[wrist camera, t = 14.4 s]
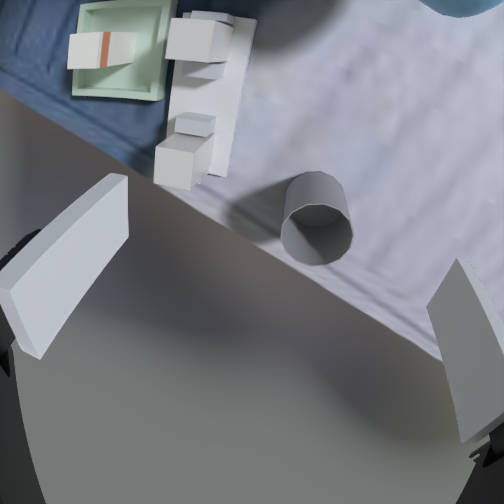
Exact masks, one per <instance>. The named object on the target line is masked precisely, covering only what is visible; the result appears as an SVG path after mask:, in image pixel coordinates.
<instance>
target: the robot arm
mask: <svg viewBox="0 0 504 504" xmlns="http://www.w3.org/2000/svg"><path fill="white" fill-rule="evenodd" d="M419 1H420V2H422V3H424V4H425V5H427V6H428V7H430V8H431V9H433V10H434V11H436V12H438V13H440V14H442V15H447V16H452V17H456V18H462V17H470V16H474V15H477V14H480V13H483V12H485V11H488V10H490V9H492V8H494V7H495V6H497V5H499V4H500V3H502V2H503V1H504V0H419ZM128 237H129V235H128V176H125V175H119V174H114V173H110V174H109V175H107V176H106V177H105V178H103V179H102V180H101V181H99V182H98V183H97V184H96V185H94V186H93V187H92V188H91V189H89V190H88V191H87V192H86V193H85V194H83V195H82V196H81V197H80V198H78V199H77V200H76V201H75V202H74V203H72V204H71V205H70V206H69V207H68V208H67V209H66V210H64V211H63V212H62V213H61V214H59V215H58V216H57V217H56V218H55V219H54V220H53V221H52V222H50V224H48V225H47V226H46V227H45V228H44V229H43V230H41V229H38V230H36V231H34V232H32V233H30V234H28V235H26V236H25V237H24V238H23V239H22V240H21V241H20V242H18V243H17V244H16V246H15V247H13V248H12V249H11V250H10V251H9V252H8V255H5V256H4V257H3V258H2V259H1V260H0V504H46V503H45V500H44V497H43V494H42V491H41V488H40V485H39V482H38V479H37V476H36V472H35V469H34V465H33V462H32V458H31V454H30V451H29V446H28V442H27V438H26V433H25V429H24V424H23V420H22V414H21V409H20V403H19V396H18V390H17V383H16V375H15V367H14V356H13V350H12V347H11V344H12V342H13V341H14V339H15V338H16V340H17V341H18V344H19V346H20V348H21V350H22V351H24V352H26V353H28V354H30V355H32V356H34V357H36V358H38V359H41V357H42V356H43V354H44V353H45V351H46V350H47V348H48V347H49V345H50V344H51V342H52V341H53V339H54V338H55V336H56V334H57V333H58V332H59V330H60V328H61V327H62V326H63V324H64V323H65V321H66V320H67V318H68V317H69V315H70V314H71V312H72V311H73V310H74V308H75V307H76V305H77V304H78V303H79V301H80V300H81V298H82V297H83V296H84V294H85V293H86V291H87V290H88V289H89V287H90V286H91V285H92V283H93V282H94V281H95V279H96V278H97V277H98V275H99V274H100V273H101V271H102V270H103V269H104V267H105V266H106V265H107V263H108V262H109V261H110V260H111V258H112V257H113V256H114V254H115V253H116V252H117V251H118V249H119V248H120V247H121V246H122V244H123V243H124V242H125V241H126V239H127V238H128ZM427 310H428V313H429V316H430V319H431V323H432V326H433V329H434V332H435V335H436V339H437V342H438V345H439V349H440V352H441V356H442V359H443V363H444V367H445V370H446V374H447V378H448V382H449V386H450V390H451V394H452V399H453V403H454V408H455V412H456V417H457V422H458V427H459V433H460V438H461V443H462V444H466V443H476V442H478V441H480V440H481V439H482V438H484V437H485V436H487V435H488V434H489V436H490V441H489V442H487V443H486V444H484V445H483V446H481V447H480V448H478V449H477V450H475V451H474V452H472V453H471V454H470V456H469V457H470V458H472V457H474V456H475V455H477V454H478V453H479V454H480V456H479V457H477V458H476V459H474V460H473V461H474V462H476V464H475V467H474V469H473V471H472V473H471V475H470V477H469V479H468V481H467V483H466V485H465V487H464V489H463V491H462V493H461V495H460V497H459V499H458V501H457V502H456V504H504V325H503V323H502V321H501V319H500V317H499V314H498V312H497V310H496V308H495V306H494V304H493V303H492V301H491V299H490V297H489V295H488V293H487V291H486V289H485V287H484V286H483V284H482V282H481V280H480V278H479V277H478V275H477V273H476V271H475V270H474V268H473V266H472V264H471V263H470V262H469V261H466V260H463V259H460V258H456V259H455V261H454V263H453V265H452V266H451V268H450V270H449V271H448V273H447V275H446V276H445V278H444V280H443V281H442V283H441V285H440V286H439V288H438V289H437V291H436V293H435V294H434V296H433V297H432V299H431V300H430V302H429V303H428V305H427Z"/></svg>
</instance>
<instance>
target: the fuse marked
mask: <svg viewBox="0 0 504 504" xmlns="http://www.w3.org/2000/svg"><path fill="white" fill-rule="evenodd" d="M136 36H137V32H91V33H78V34H70V42H69V52H68V65H67V69H95V68H102V67H107V66H113V65H120V64H126V63H133V59H134V51H135V43H136Z"/></svg>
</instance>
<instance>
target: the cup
mask: <svg viewBox="0 0 504 504" xmlns="http://www.w3.org/2000/svg"><path fill="white" fill-rule="evenodd" d="M353 237H354V232H353V228H352V224H351V219H350V215H349V211H348V207H347V203H346V199H345V195H344V192H343V188H342V185H341V184H340V183H339V182H338V181H337V180H336V179H335V178H334V177H333V176H331V175H329V174H326V173H324V172H321V171H315V172H305V173H303V174H302V175H300V176H298V177H296V178H294V180H293V181H292V182H291V184H290V185H289V187H288V188H287V192H286V199H285V207H284V214H283V222H282V229H281V236H280V239H281V242H282V244H283V247H284V249H285V252H286V253H288V254H289V255H290V256H291V257H292V258H293V259H294V260H295V261H297V262H300V263H302V264H305V265H308V266H327V265H329V264H331V263H334V262H336V261H338V260H340V259H341V258H342V257H343V256H344V255H345V254H346V253H347V252H348V251H349V250H350V248H351V244H352V241H353Z"/></svg>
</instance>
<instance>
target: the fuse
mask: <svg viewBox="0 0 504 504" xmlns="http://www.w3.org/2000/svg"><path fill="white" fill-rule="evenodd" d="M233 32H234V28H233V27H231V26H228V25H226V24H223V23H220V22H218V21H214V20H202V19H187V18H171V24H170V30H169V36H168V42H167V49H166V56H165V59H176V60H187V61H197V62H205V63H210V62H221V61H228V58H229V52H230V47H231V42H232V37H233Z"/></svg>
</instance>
